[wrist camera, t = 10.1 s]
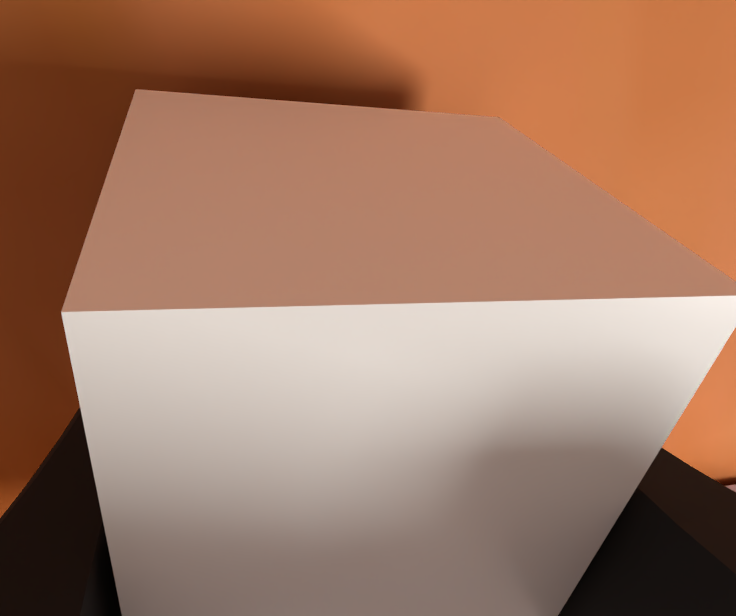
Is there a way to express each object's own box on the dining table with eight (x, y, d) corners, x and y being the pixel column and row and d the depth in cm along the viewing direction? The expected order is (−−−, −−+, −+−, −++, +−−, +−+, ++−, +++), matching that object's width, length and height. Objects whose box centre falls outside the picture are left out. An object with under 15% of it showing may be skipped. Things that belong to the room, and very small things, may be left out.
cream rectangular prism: (498, 116, 9) (756, 295, 5) (401, 490, 15) (486, 732, 10) (135, 88, 8) (60, 311, 3) (173, 518, 13) (162, 816, 9)
